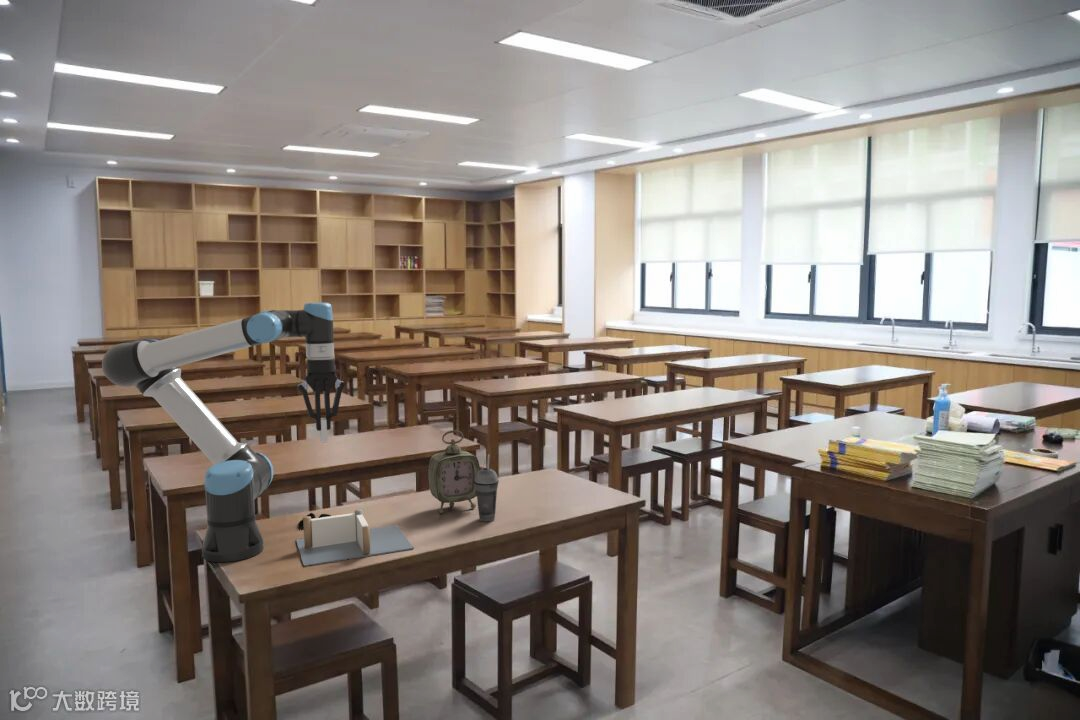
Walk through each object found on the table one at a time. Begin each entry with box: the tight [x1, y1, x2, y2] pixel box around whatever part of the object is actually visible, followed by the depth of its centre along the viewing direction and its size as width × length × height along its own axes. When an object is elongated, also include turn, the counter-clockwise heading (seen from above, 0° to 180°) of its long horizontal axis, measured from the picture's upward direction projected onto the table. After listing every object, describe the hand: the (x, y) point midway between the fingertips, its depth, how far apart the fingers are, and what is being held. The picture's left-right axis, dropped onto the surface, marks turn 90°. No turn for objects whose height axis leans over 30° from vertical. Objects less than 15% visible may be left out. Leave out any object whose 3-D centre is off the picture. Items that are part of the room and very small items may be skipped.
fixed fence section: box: [302, 509, 363, 548], centre depth 197 cm, size 16×2×9 cm, turn 114°
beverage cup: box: [474, 453, 500, 522], centre depth 216 cm, size 7×7×20 cm
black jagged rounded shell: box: [297, 512, 332, 531], centre depth 214 cm, size 12×10×5 cm
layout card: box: [295, 524, 414, 567], centre depth 197 cm, size 28×20×1 cm
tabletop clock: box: [427, 430, 481, 514], centre depth 226 cm, size 14×9×25 cm, turn 117°
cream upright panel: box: [356, 514, 371, 554], centre depth 194 cm, size 11×2×7 cm, turn 23°
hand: (324, 441), depth 205 cm, fingers closed
